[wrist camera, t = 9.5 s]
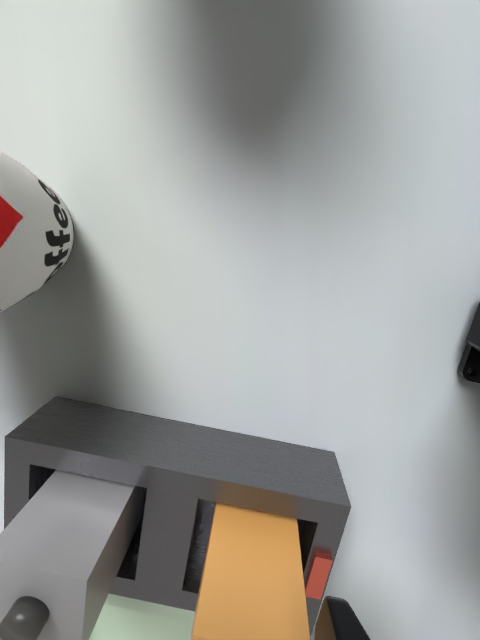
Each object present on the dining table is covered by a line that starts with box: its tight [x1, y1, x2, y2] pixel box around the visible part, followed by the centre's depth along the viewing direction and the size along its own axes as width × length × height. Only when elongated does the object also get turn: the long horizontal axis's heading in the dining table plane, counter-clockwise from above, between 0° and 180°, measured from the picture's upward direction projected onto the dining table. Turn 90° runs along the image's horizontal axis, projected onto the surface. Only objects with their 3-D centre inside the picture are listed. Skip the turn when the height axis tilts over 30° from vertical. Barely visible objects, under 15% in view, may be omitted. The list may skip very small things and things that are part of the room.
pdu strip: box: [4, 397, 351, 636], centre depth 19 cm, size 16×8×4 cm, turn 80°
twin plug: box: [0, 470, 145, 640], centre depth 16 cm, size 4×4×8 cm
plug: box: [190, 502, 310, 640], centre depth 16 cm, size 4×4×9 cm
